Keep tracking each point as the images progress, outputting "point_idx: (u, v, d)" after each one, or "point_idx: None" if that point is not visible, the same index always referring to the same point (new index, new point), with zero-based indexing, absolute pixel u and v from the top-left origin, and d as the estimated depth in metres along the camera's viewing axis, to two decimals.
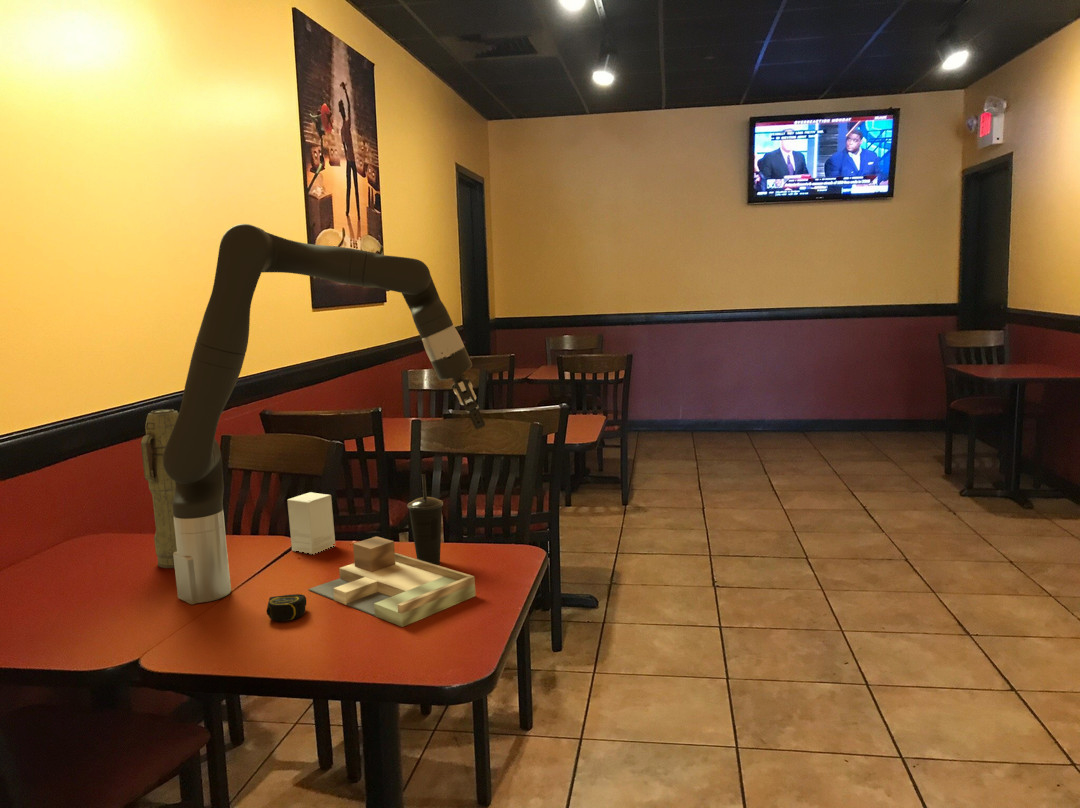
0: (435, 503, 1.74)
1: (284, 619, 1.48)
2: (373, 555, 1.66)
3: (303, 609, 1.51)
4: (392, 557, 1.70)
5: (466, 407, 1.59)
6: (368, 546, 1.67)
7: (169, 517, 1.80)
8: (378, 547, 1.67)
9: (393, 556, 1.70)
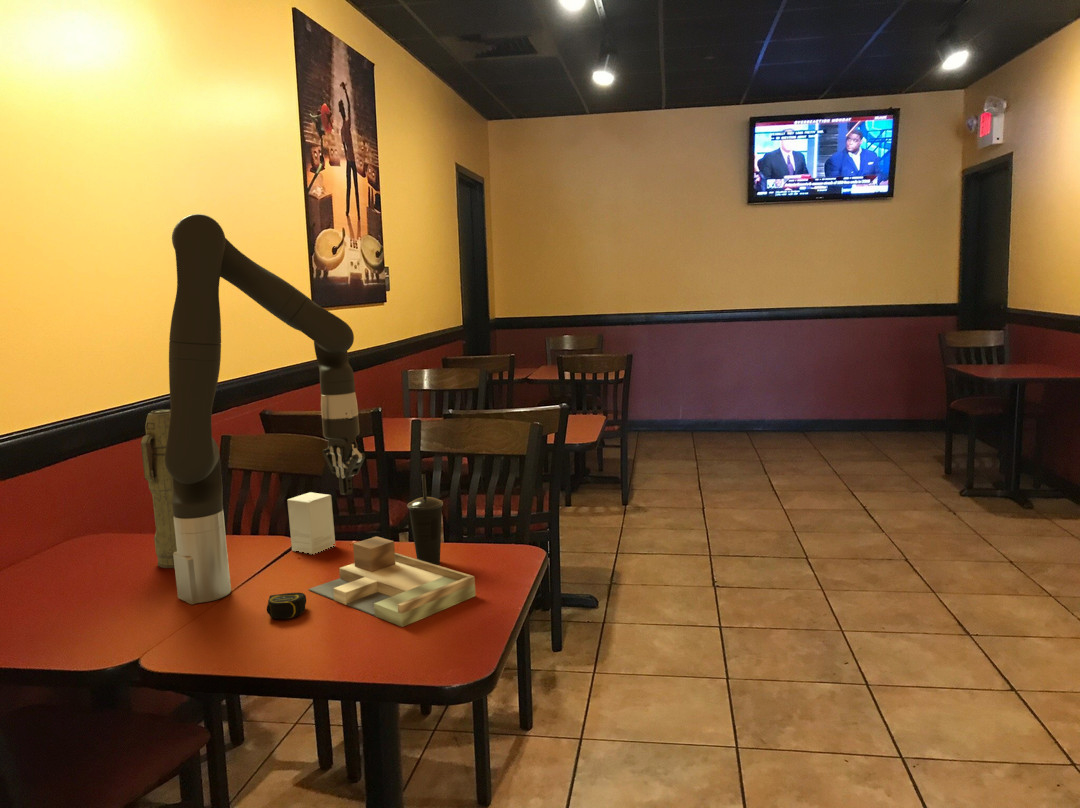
0: (435, 503, 1.74)
1: (284, 617, 1.49)
2: (373, 555, 1.66)
3: (303, 607, 1.52)
4: (392, 557, 1.70)
5: (350, 474, 1.70)
6: (368, 546, 1.67)
7: (169, 517, 1.80)
8: (378, 547, 1.67)
9: (393, 556, 1.70)
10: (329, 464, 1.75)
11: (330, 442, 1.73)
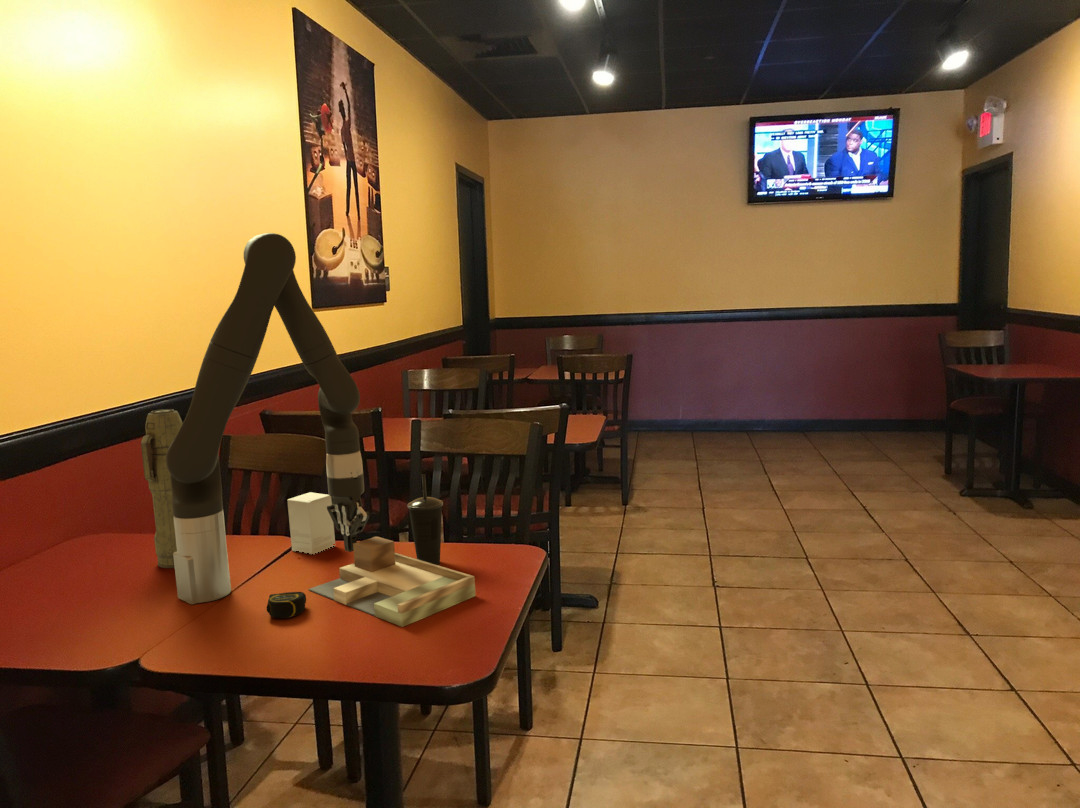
0: (435, 503, 1.74)
1: (284, 616, 1.49)
2: (373, 555, 1.66)
3: (303, 606, 1.52)
4: (392, 557, 1.70)
5: (354, 532, 1.72)
6: (368, 546, 1.67)
7: (169, 517, 1.80)
8: (378, 547, 1.67)
9: (393, 556, 1.70)
10: (334, 521, 1.76)
11: (335, 499, 1.75)
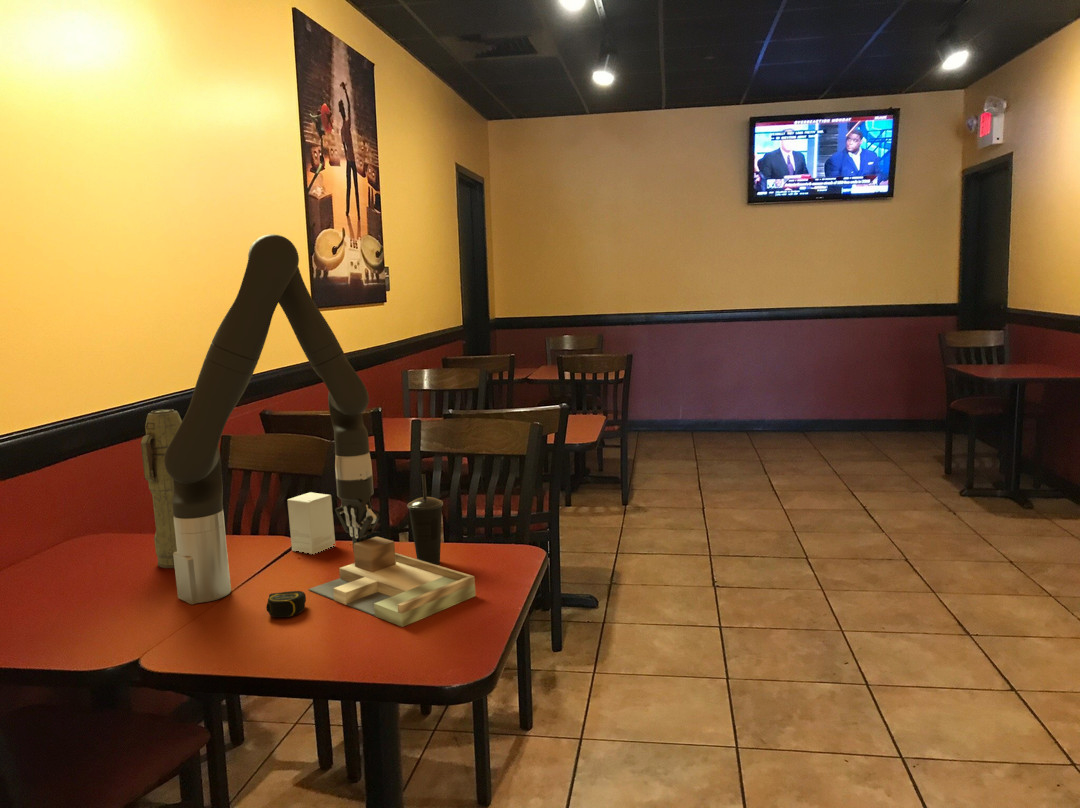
0: (435, 503, 1.74)
1: (284, 615, 1.50)
2: (373, 555, 1.66)
3: (302, 606, 1.52)
4: (392, 557, 1.70)
5: (364, 535, 1.70)
6: (368, 546, 1.67)
7: (169, 517, 1.80)
8: (378, 547, 1.67)
9: (393, 556, 1.70)
10: (342, 523, 1.74)
11: (344, 501, 1.73)
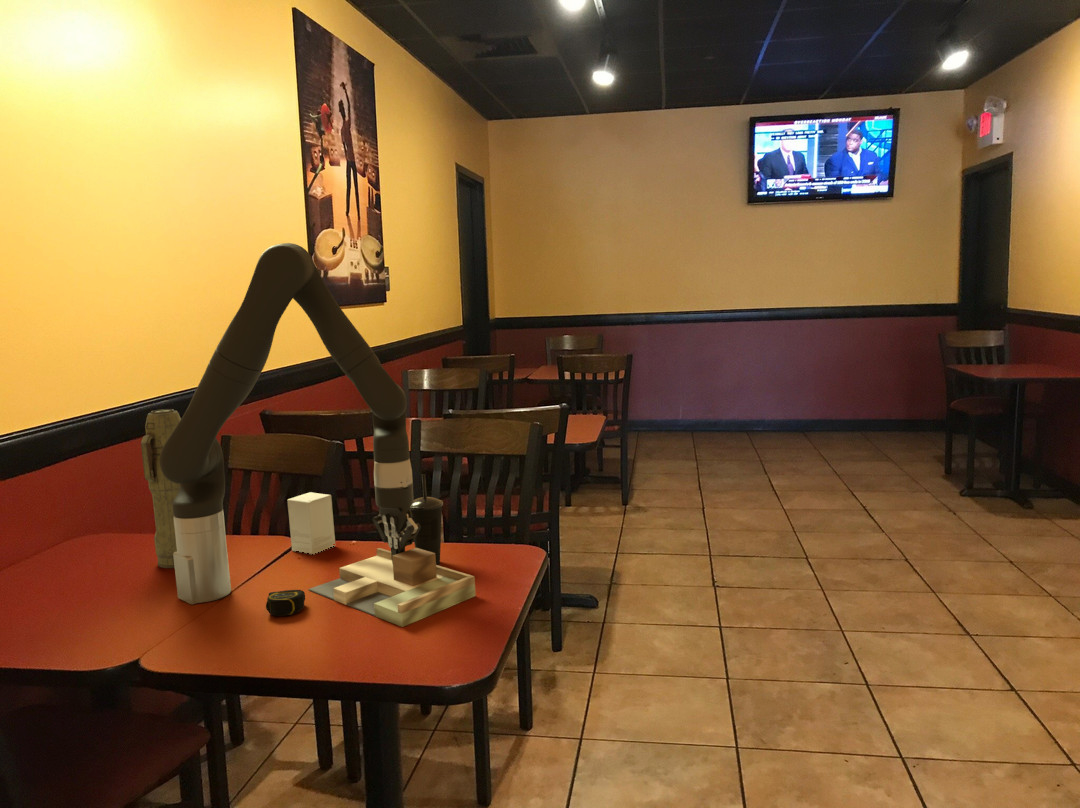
0: (435, 503, 1.74)
1: (283, 614, 1.51)
2: (414, 568, 1.57)
3: (302, 604, 1.53)
4: (433, 570, 1.61)
5: (404, 545, 1.62)
6: (409, 558, 1.58)
7: (169, 517, 1.80)
8: (419, 560, 1.58)
9: (434, 569, 1.61)
10: (380, 533, 1.66)
11: (382, 510, 1.65)
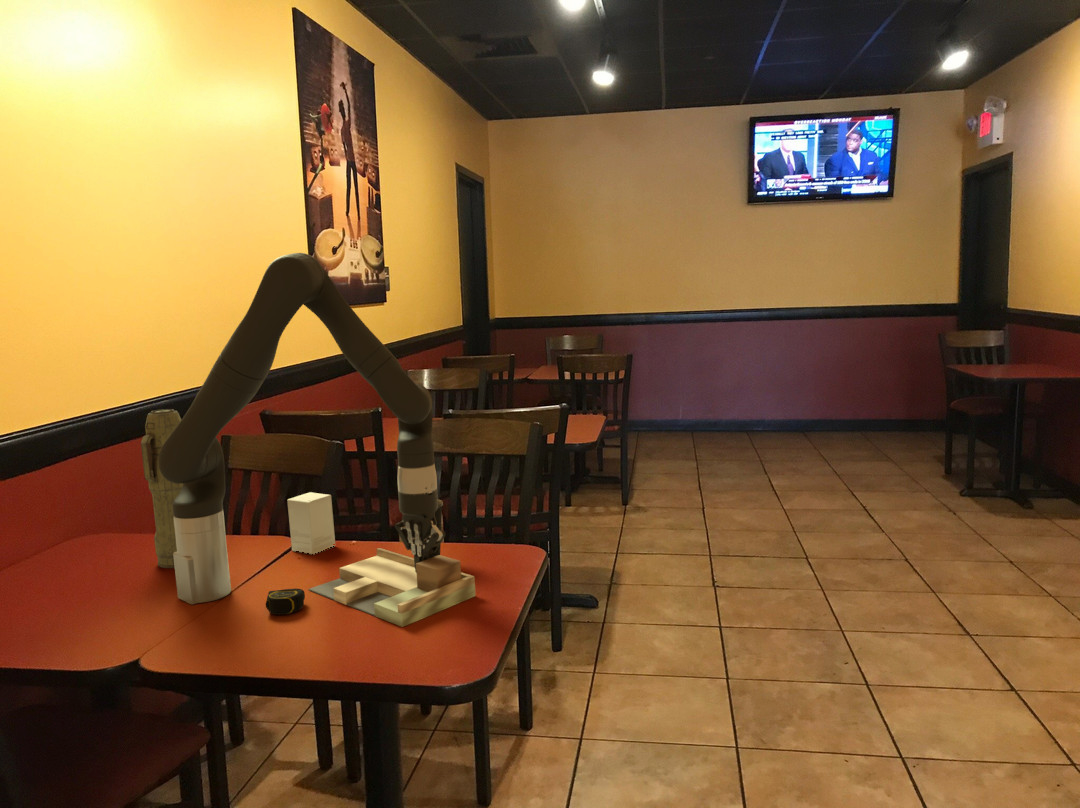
0: None
1: (283, 613, 1.51)
2: (439, 576, 1.52)
3: (301, 603, 1.54)
4: (458, 578, 1.56)
5: (428, 553, 1.57)
6: (433, 566, 1.53)
7: (169, 517, 1.80)
8: (444, 567, 1.53)
9: (459, 577, 1.56)
10: (403, 540, 1.61)
11: (405, 516, 1.59)
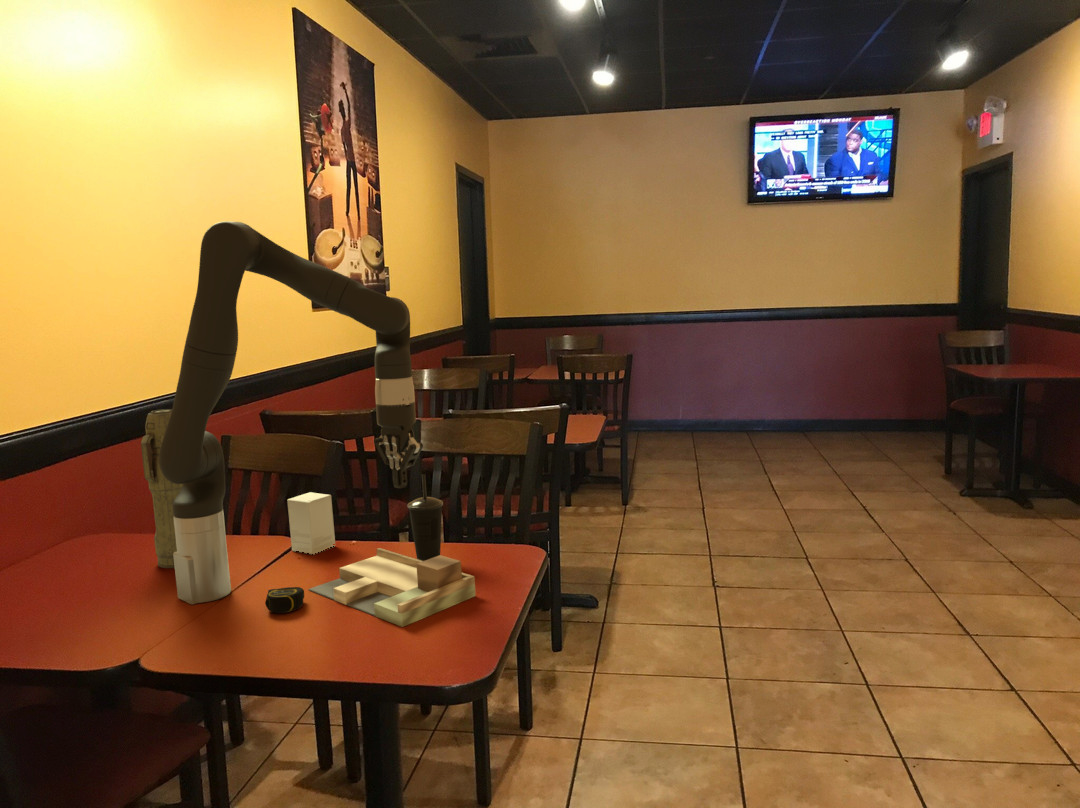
0: (435, 503, 1.74)
1: (282, 611, 1.52)
2: (439, 576, 1.52)
3: (301, 601, 1.54)
4: (459, 578, 1.56)
5: (405, 465, 1.57)
6: (434, 567, 1.53)
7: (169, 517, 1.80)
8: (445, 568, 1.53)
9: (460, 577, 1.56)
10: (382, 454, 1.61)
11: (384, 431, 1.60)
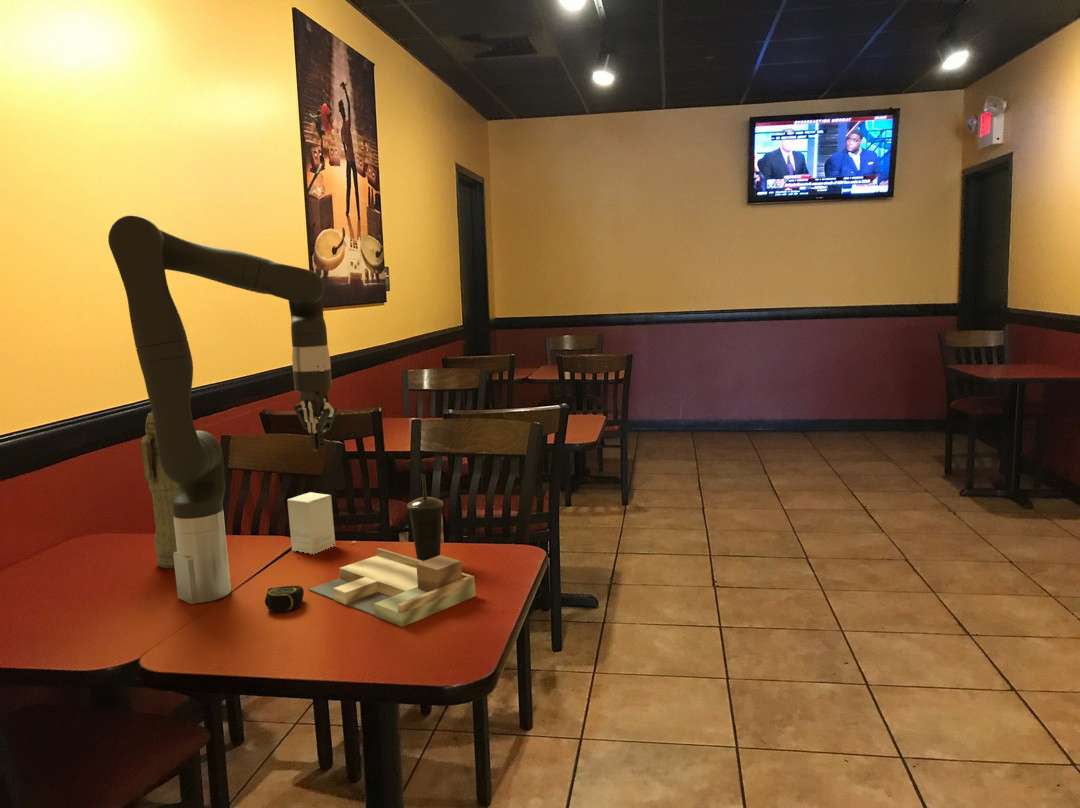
0: (435, 503, 1.74)
1: (282, 609, 1.53)
2: (439, 576, 1.52)
3: (300, 600, 1.55)
4: (459, 578, 1.56)
5: (321, 429, 1.66)
6: (434, 567, 1.53)
7: (169, 517, 1.80)
8: (445, 568, 1.53)
9: (460, 577, 1.56)
10: (301, 420, 1.71)
11: (302, 397, 1.69)
